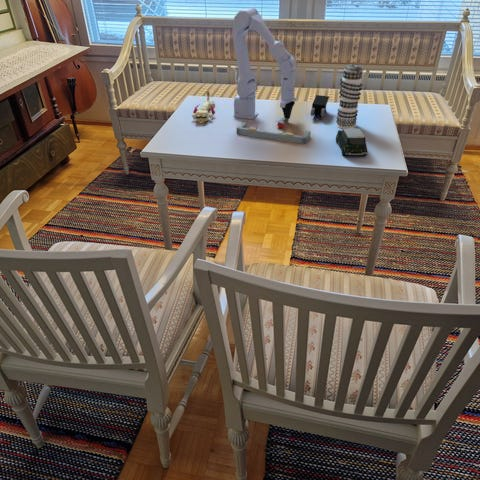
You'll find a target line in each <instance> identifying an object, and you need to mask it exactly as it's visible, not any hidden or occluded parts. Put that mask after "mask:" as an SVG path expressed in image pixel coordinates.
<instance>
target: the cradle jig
mask: <svg viewBox="0 0 480 480" xmlns="http://www.w3.org/2000/svg"><path fill="white" fill-rule="evenodd" d="M236 134H237V135H244V136H248V137H249V136H251V137H257V138H263V139H270V140H276V141H282V142H290V143H295V144H303V145H304V144H305V145H306V143H307V142H308V141H309V139H310V138H311V130H307V131H306V132H305V133H304V134H303V135H296V134H294V133H293V132H285V133H283V132H275V131H269V130H264V129H263V130H262V129H257V127H251V126H249V128H248V122H246V121H243V122H242V123H241V124H240V125H238V126H237V127H236Z"/></svg>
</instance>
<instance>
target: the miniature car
mask: <svg viewBox="0 0 480 480" xmlns="http://www.w3.org/2000/svg"><path fill="white" fill-rule="evenodd" d="M366 141H367V139H366V135H365V134H364V132H363V131H362V130H361V128H357V127H355V128H347V129H343V130H341V129H339V130H337V133H336V136H335V143H336V144H337V145H338V146H339V147H340V149H341V155H342V157H347V155H349V156H351V155H352V156H354V155H355V156H359V155H360V156H363V157H364V156H367V155H368V148H367V147H368V146H367V142H366Z"/></svg>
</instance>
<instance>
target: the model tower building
mask: <svg viewBox="0 0 480 480" xmlns="http://www.w3.org/2000/svg"><path fill="white" fill-rule="evenodd" d="M363 72H364V69H363V68H362V66H361V65H360V64H355V63H354V64H353V63H351V64H348V65H346V66H345V67H344V68H343V74H342V78H341V79H340V84H339V85H340V87H339V93H338V94H340V95H339V96H338V98H339V104H338V108H337V116H336V120H335V126H336V127H337V128H339V129H347V128H356V125H357V120H358V119H357V117H358V112H359V110H358V106H359V104H358V103H359V101H360V99H361V95H362V94H361V91H362V89H363V88H362V87H363V83H362V81H363Z"/></svg>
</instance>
